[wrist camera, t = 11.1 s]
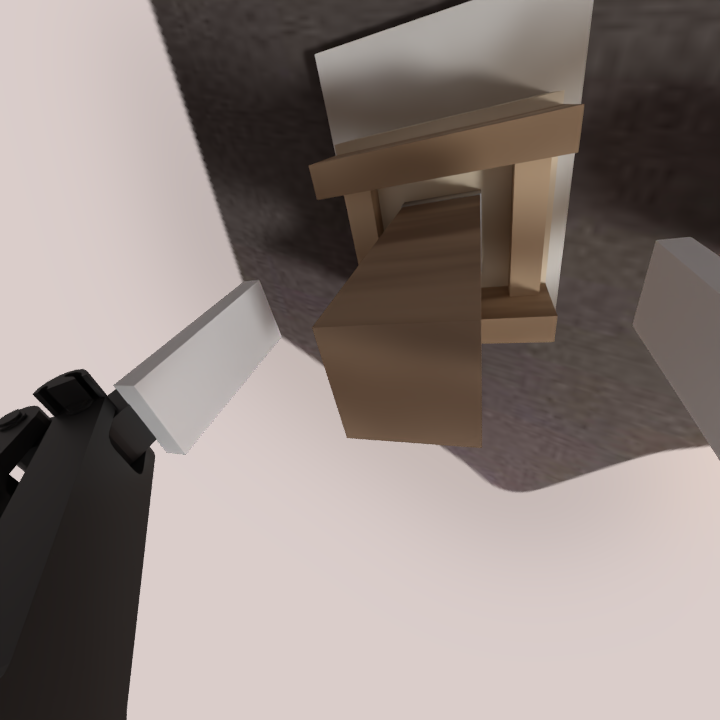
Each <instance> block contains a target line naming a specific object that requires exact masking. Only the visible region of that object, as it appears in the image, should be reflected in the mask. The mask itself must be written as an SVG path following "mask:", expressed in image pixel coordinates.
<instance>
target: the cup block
mask: <svg viewBox="0 0 720 720" xmlns="http://www.w3.org/2000/svg"><path fill="white" fill-rule="evenodd" d="M593 1H594V0H472V1H469V2H466V3H463V4H460V5H457V6H454V7H451V8H448V9H445V10H442V11H439V12H437V13H434V14H431V15H428V16H425V17H422V18H419V19H416V20H413V21H410V22H407V23H404V24H402V25H399V26H396V27H393V28H390V29H387V30H384V31H381V32H378V33H375V34H372V35H370V36H367V37H364V38H361V39H358V40H355V41H352V42H349V43H346V44H343V45H340V46H337V47H335V48H332V49H329V50H326V51H323V52H320V53H317V54H315V59H316V64H317V69H318V73H319V78H320V83H321V88H322V93H323V97H324V102H325V107H326V112H327V116H328V121H329V126H330V131H331V136H332V140H333V145H334V150H335V155H336V156H334V157H331V158H328V159H325V160H323V161H320V162H317V163H314V164H311V165H309V169H310V173H311V177H312V181H313V185H314V189H315V193H316V197H317V200H321V199H326V198H332V197H337V196H343V195H344V198H345V203H346V207H347V212H348V217H349V222H350V227H351V231H352V236H353V241H354V246H355V250H356V255H357V260H358V265H359V264H360V263H361V262H362V260H363V259H364V258H365V256H366V255H367V254H368V252H369V251H370V250H371V248H372V247H373V246H374V244H375V243H376V242H377V240H378V239H379V238H380V236H381V235H382V234H383V232H384V231H385V230H386V228H387V227H388V226H389V224H390V223H391V222H392V220H393V219H394V218H395V216H396V215H397V214H398V212H399V211H400V210H401V206H402V205H403V204H404V202H409V201H415V200H421V199H427V198H433V197H439V196H445V195H451V194H458V193H464V192H470V191H476V190H481V221H482V271H481V344H483V343H527V342H554V339H555V331H556V323H557V314H556V311H555V310H556V302H557V294H558V286H559V277H560V269H561V261H562V253H563V245H564V237H565V229H566V221H567V212H568V204H569V196H570V188H571V180H572V172H573V164H574V156H575V153H578V151H579V143H580V135H581V127H582V120H583V112H584V104H581V99H582V91H583V82H584V74H585V66H586V58H587V50H588V42H589V34H590V25H591V17H592V9H593Z"/></svg>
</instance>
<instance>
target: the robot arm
mask: <svg viewBox="0 0 720 720" xmlns="http://www.w3.org/2000/svg"><path fill="white" fill-rule="evenodd" d="M632 326H633V327H634V329H635V330H636V332H637V334H638V335H639V337H640V338H641V340H642V341H643V343H644V344H645V346H646V347H647V349H648V351H649V352H650V354H651V355H652V357H653V358H654V360H655V361H656V363H657V364H658V366H659V367H660V369H661V371H662V372H663V374H664V375H665V377H666V378H667V380H668V381H669V383H670V384H671V386H672V388H673V389H674V391H675V392H676V394H677V395H678V397H679V398H680V400H681V401H682V403H683V404H684V406H685V408H686V409H687V411H688V412H689V414H690V415H691V417H692V418H693V420H694V421H695V423H696V424H697V426H698V428H699V429H700V431H701V432H702V434H703V435H704V437H705V438H706V440H707V441H708V443H709V445H710V446H711V448H712V449H713V451H714V452H715V454H716V455H717V457H718V458H719V460H720V256H718V255H717V254H715V253H714V252H712V251H711V250H709V249H708V248H707V247H705V246H704V245H702V244H701V243H699V242H698V241H696V240H695V239H693V238H692V237H683V238H673V239H663V240H656V242H655V245H654V249H653V253H652V256H651V260H650V263H649V267H648V271H647V274H646V278H645V282H644V285H643V289H642V292H641V296H640V300H639V303H638V307H637V310H636V314H635V318H634V321H633V325H632ZM280 339H281V334H280V332H279V329H278V326H277V324H276V321H275V319H274V316H273V314H272V311H271V309H270V306H269V304H268V301H267V299H266V296H265V293H264V291H263V288H262V286H261V283H260V281H259V280H256V281H246V282H243V283H242V284H240V285H239V286H238V287H237V288H235V289H234V290H233V291H232V292H230V293H229V294H228V295H226V296H225V297H224V298H223V299H221V300H220V301H219V302H218V303H216V305H214V306H213V307H211V308H210V309H209V310H208V311H206V312H205V313H204V314H203V315H201V316H200V317H199V318H197V319H196V320H195V321H194V322H192V323H191V324H190V325H189V326H188V327H186V328H185V329H184V330H182V331H181V332H180V333H179V334H177V335H176V336H175V337H174V338H172V339H171V340H170V341H169V342H167V343H166V344H165V345H164V346H162V347H161V348H160V349H159V350H157V351H156V352H155V353H154V354H152V355H151V356H150V357H148V358H147V359H146V360H145V361H144V362H142V363H141V364H140V365H138V366H137V367H136V368H135V369H133V370H132V371H131V372H130V373H128V374H127V375H126V376H125V377H123V378H122V379H121V380H119V381H118V382H117V383H116V384H114V387H115V388H116V390H114V391H113V392H112V393H110V394H109V395H108V396H107V395H106V393H105V392H104V391H103V390H102V389H101V388H100V386H99V385H98V384H97V383H96V381H95V380H94V379H93V378H92V377H91V375H90V374H89V373H88V372H87V371H86V370H84V369H80V370H74V371H70V372H67V373H65V374H62V375H60V376H58V377H56V378H54V379H52V380H50V381H49V382H47V383H45V384H44V385H42V386H41V387H40V388H38V389H37V390H36V391H35V392H34V393H33V395H34V396H35V397H36V398H37V399H38V400H39V401H40V402H41V403H42V404H43V405H44V406H45V407H46V408H47V409H48V410H49V411H50V412H51V414H52V415H54V417H51V418H49V417H48V416H47V415H46V414H45V413H44V412H43V411H42V410H41V409H40V408H39V407H38V406H30V407H26V408H23V409H20V410H18V409H17V410H15V411H13V412H11V413H9V414H7V415H5V416H4V417H2V418H1V419H0V720H126V719H127V718H126V716H127V702H128V694H129V685H130V676H131V667H132V658H133V648H134V640H135V631H136V622H137V613H138V604H139V595H140V586H141V578H142V569H143V559H144V551H145V542H146V533H147V524H148V515H149V506H150V496H151V488H152V479H153V471H154V462H155V454H154V452H153V450H152V449H151V448H150V445H151V444H152V443H153V442H154V441H155V440H157V441H158V442H159V443H160V445H161V446H162V447H163V448H164V450H165V451H166V452H167V453H175V454H183V455H186V454H187V452H188V451H189V450H190V449H191V447H192V446H193V445H194V444H195V442H196V441H197V440H198V439H199V438H200V436H201V435H202V434H203V433H204V431H205V430H206V429H207V428H208V427H209V425H210V424H211V423H212V422H213V420H214V419H215V418H216V417H217V416H218V414H219V413H220V412H221V411H222V409H223V408H224V407H225V406H226V405H227V403H228V402H229V401H230V400H231V398H232V397H233V396H234V395H235V394H236V392H237V391H238V390H239V388H240V387H241V386H242V385H243V384H244V383H245V381H246V380H247V379H248V378H249V376H250V375H251V374H252V373H253V372H254V370H255V369H256V368H257V366H258V365H259V364H260V363H261V362H262V361H263V359H264V358H265V357H266V356H267V354H268V353H269V352H270V351H271V350H272V348H273V347H274V346H275V344H276V343H277V342H278V341H279V340H280ZM16 465H17V466H18V467H20V468H21V469H22V470H23V471H24V472H25V473H24V475H23V477H22V479H21V481H20V482H18V481H17V480H15V479H14V478H13V477H11V476H10V475H9V473H10V472H11V471H12V470H13V469H14V467H15V466H16Z"/></svg>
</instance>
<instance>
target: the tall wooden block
mask: <svg viewBox="0 0 720 720" xmlns="http://www.w3.org/2000/svg"><path fill="white" fill-rule="evenodd" d="M481 271H482V221H481V190H476V191H470V192H464V193H458V194H451V195H445V196H439V197H433V198H427V199H421V200H415V201H409V202H404V204H403V205H402V206H401V210H400V211H399V212H398V214H397V215H396V216H395V218H394V219H393V220H392V222H391V223H390V224H389V226H388V227H387V228H386V230H385V231H384V232H383V234H382V235H381V236H380V238H379V239H378V240H377V242H376V243H375V244H374V246H373V247H372V248H371V250H370V251H369V252H368V254H367V255H366V256H365V258H364V259H363V260H362V262H361V263H360V264H359V266H358V267H357V268H356V270H355V271H354V272H353V274H352V275H351V276H350V278H349V279H348V280H347V282H346V283H345V284H344V286H343V287H342V288H341V290H340V291H339V292H338V294H337V295H336V296H335V298H334V299H333V300H332V302H331V303H330V304H329V306H328V307H327V308H326V310H325V311H324V312H323V314H322V315H321V316H320V318H319V319H318V320H317V322H316V323H315V324H314V326H313V327H312V329H313V332H314V336H315V339H316V342H317V345H318V348H319V351H320V354H321V358H322V361H323V364H324V367H325V370H326V373H327V376H328V380H329V383H330V385H331V389H332V392H333V395H334V398H335V401H336V405H337V408H338V411H339V414H340V417H341V420H342V424H343V427H344V429H345V433H346V436H347V438H356V439H368V440H382V441H395V442H409V443H423V444H436V445H449V446H463V447H476V448H482V367H481Z"/></svg>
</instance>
